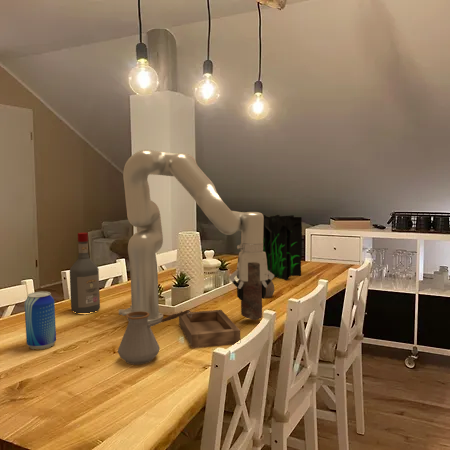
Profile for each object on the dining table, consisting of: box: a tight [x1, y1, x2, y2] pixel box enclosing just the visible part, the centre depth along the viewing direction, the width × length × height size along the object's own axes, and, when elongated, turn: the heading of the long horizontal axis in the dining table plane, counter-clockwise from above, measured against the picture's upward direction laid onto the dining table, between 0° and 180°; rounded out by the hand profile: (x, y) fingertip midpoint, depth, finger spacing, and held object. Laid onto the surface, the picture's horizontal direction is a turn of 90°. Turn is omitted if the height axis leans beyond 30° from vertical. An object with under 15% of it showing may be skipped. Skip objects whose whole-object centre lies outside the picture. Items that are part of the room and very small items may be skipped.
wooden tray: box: [178, 309, 241, 349], centre depth 157 cm, size 15×24×4 cm, turn 14°
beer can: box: [24, 291, 57, 350], centre depth 147 cm, size 8×8×16 cm
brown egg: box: [265, 276, 275, 299], centre depth 204 cm, size 7×7×9 cm
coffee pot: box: [117, 309, 192, 365], centre depth 134 cm, size 21×12×15 cm, turn 75°
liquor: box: [69, 232, 101, 314], centre depth 184 cm, size 9×9×30 cm
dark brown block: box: [240, 263, 263, 321], centre depth 168 cm, size 8×7×20 cm
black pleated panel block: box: [263, 214, 303, 282], centre depth 247 cm, size 29×30×30 cm
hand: (251, 298), depth 169 cm, fingers closed on dark brown block, 7 cm apart
